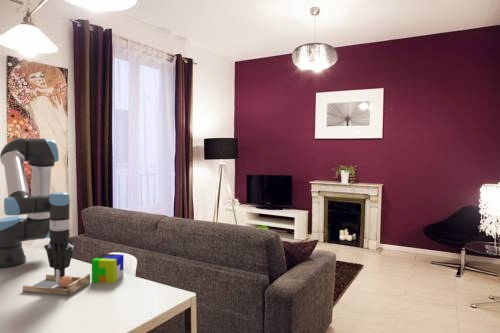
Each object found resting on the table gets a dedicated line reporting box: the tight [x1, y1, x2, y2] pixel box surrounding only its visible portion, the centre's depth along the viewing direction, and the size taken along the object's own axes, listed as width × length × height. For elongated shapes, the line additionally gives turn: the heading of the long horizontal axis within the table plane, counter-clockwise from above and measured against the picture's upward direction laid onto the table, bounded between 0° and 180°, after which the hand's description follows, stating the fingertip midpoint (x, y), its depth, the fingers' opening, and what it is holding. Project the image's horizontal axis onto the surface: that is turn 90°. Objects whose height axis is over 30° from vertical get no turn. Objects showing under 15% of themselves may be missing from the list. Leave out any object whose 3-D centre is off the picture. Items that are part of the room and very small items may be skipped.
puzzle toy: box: [91, 253, 125, 284], centre depth 162 cm, size 10×10×10 cm
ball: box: [59, 274, 73, 288], centre depth 149 cm, size 5×5×5 cm
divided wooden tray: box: [22, 273, 91, 296], centre depth 150 cm, size 14×21×4 cm, turn 82°
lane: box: [22, 278, 91, 297], centre depth 150 cm, size 14×21×1 cm, turn 82°
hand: (59, 283), depth 150 cm, fingers closed
